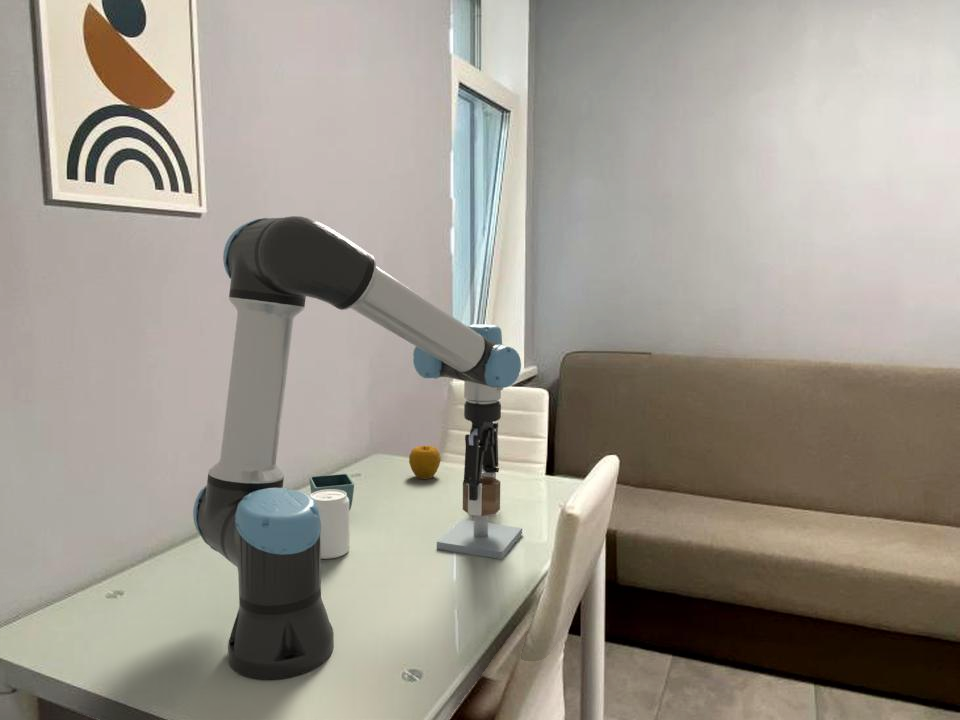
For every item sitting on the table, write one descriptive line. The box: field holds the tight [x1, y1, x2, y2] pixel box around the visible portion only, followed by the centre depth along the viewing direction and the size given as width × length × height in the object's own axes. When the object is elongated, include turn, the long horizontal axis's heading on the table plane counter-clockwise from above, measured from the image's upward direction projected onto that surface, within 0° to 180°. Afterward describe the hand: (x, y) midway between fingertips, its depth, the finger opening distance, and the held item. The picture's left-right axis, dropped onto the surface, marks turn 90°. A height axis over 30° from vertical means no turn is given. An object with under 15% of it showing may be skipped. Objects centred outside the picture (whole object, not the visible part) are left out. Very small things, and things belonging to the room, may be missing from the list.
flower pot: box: [309, 473, 355, 512], centre depth 160 cm, size 9×9×9 cm
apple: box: [408, 445, 441, 480], centre depth 193 cm, size 9×8×9 cm
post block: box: [436, 515, 523, 560], centre depth 148 cm, size 14×14×9 cm
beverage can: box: [309, 489, 351, 560], centre depth 141 cm, size 8×8×12 cm
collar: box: [462, 476, 501, 516], centre depth 147 cm, size 7×7×6 cm
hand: (481, 508), depth 148 cm, fingers closed on collar, 7 cm apart
